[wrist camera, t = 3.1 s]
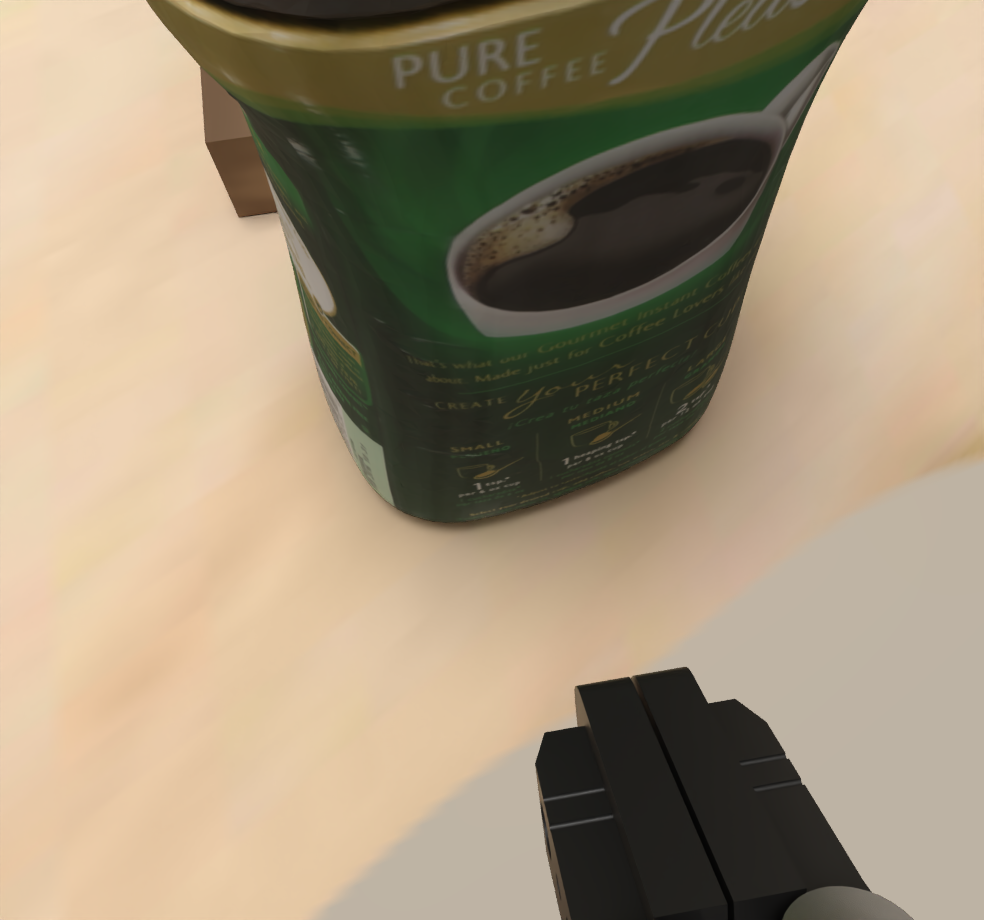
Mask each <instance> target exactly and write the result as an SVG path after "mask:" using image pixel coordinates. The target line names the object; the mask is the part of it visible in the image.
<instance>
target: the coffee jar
mask: <svg viewBox="0 0 984 920" xmlns="http://www.w3.org/2000/svg"><path fill="white" fill-rule="evenodd" d="M146 1H147V2H148V4H149V5H150V7H151V8H152V10H153V11H154V12H155V14H156V15H157V16H158V17H159V19H160V20H161V21H162V23H163V24H164V25H165V26H166V28H167V29H168V30H169V31H170V32H171V33H172V34H173V36H174V37H175V38H176V39H177V40H178V41H179V42H180V44H181V45H182V46H183V47H184V48H185V49H186V50H187V52H188V53H189V54H190V55H191V56H192V57H193V58H194V60H195V61H196V62H197V63H198V64H199V65H200V66H201V68H202V69H204V70H205V71H206V72H207V73H208V74H209V75H210V76H211V77H212V78H213V79H214V80H215V81H216V82H217V83H218V84H220V85H221V86H222V87H223V88H224V89H225V90H226V91H227V92H228V94H229V95H230V96H231V97H233V98H234V99H235V100H236V101H238V103H239V104H240V106H241V109H242V111H243V114H244V116H245V119H246V122H247V124H248V127H249V129H250V132H251V135H252V137H253V140H254V143H255V146H256V149H257V151H258V154H259V157H260V160H261V162H262V165H263V167H264V170H265V173H266V176H267V179H268V182H269V185H270V189H271V192H272V195H273V198H274V201H275V204H276V208H277V211H278V214H279V218H280V221H281V225H282V228H283V232H284V235H285V238H286V242H287V246H288V250H289V254H290V258H291V262H292V266H293V270H294V275H295V280H296V285H297V289H298V293H299V298H300V302H301V307H302V312H303V317H304V321H305V325H306V329H307V333H308V338H309V342H310V346H311V349H312V353H313V356H314V360H315V364H316V367H317V371H318V374H319V378H320V381H321V384H322V388H323V391H324V394H325V397H326V400H327V402H328V405H329V407H330V410H331V412H332V415H333V418H334V420H335V422H336V424H337V426H338V428H339V430H340V433H341V435H342V437H343V439H344V441H345V443H346V445H347V447H348V449H349V452H350V454H351V455H352V457H353V459H354V461H355V462H356V464H357V466H358V468H359V469H360V471H361V473H362V475H363V476H364V477H365V479H366V480H367V481H368V483H369V484H370V485H371V487H372V488H373V489H374V490H375V491H376V492H377V493H378V494H379V495H380V496H381V497H382V498H384V499H385V500H386V501H387V502H389V503H390V504H392V505H393V506H394V507H396V508H397V509H399V510H401V511H403V512H404V513H407V514H410V515H412V516H415V517H419V518H422V519H426V520H430V521H438V522H445V523H447V522H466V521H473V520H479V519H482V518H485V517H492V516H496V515H501V514H505V513H508V512H511V511H514V510H517V509H522V508H527V507H530V506H533V505H536V504H539V503H542V502H545V501H548V500H552V499H555V498H557V497H560V496H562V495H565V494H567V493H570V492H573V491H575V490H578V489H581V488H583V487H586V486H589V485H591V484H594V483H596V482H598V481H601V480H603V479H605V478H608V477H610V476H613V475H616V474H618V473H620V472H622V471H624V470H626V469H628V468H630V467H631V466H633V465H635V464H637V463H639V462H641V461H643V460H645V459H647V458H649V457H650V456H652V455H654V454H656V453H658V452H659V451H661V450H663V449H665V448H666V447H668V446H669V445H671V444H673V443H674V442H676V441H677V440H679V439H680V438H682V437H683V436H684V435H685V434H686V433H687V432H688V431H689V430H691V429H692V427H693V426H694V425H695V424H696V423H697V422H698V421H699V419H700V418H701V416H702V415H703V413H704V412H705V410H706V409H707V406H708V404H709V402H710V400H711V398H712V396H713V394H714V391H715V389H716V387H717V384H718V382H719V379H720V376H721V374H722V371H723V368H724V365H725V362H726V359H727V356H728V353H729V350H730V347H731V343H732V340H733V336H734V333H735V329H736V325H737V321H738V317H739V313H740V310H741V306H742V302H743V299H744V295H745V291H746V288H747V285H748V281H749V278H750V274H751V271H752V268H753V265H754V261H755V258H756V255H757V252H758V249H759V246H760V243H761V241H762V238H763V234H764V231H765V228H766V225H767V222H768V219H769V216H770V213H771V210H772V207H773V204H774V202H775V199H776V196H777V193H778V190H779V187H780V184H781V181H782V178H783V175H784V172H785V169H786V166H787V163H788V160H789V158H790V155H791V153H792V150H793V148H794V145H795V143H796V140H797V138H798V135H799V133H800V130H801V128H802V125H803V123H804V120H805V118H806V115H807V113H808V111H809V109H810V107H811V104H812V102H813V100H814V98H815V96H816V94H817V91H818V89H819V87H820V85H821V83H822V81H823V79H824V77H825V75H826V73H827V71H828V69H829V67H830V65H831V64H832V62H833V60H834V58H835V56H836V54H837V52H838V50H839V48H840V46H841V44H842V42H843V41H844V39H845V37H846V35H847V34H848V32H849V30H850V29H851V27H852V25H853V24H854V22H855V20H856V19H857V17H858V15H859V14H860V12H861V10H862V9H863V7H864V6H865V4H866V3H867V1H868V0H146Z"/></svg>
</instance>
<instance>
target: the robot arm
mask: <svg viewBox="0 0 984 920" xmlns="http://www.w3.org/2000/svg"><path fill="white" fill-rule="evenodd" d="M575 704H576V714H577V724H578V727H574V728H568V729H563V730H557V731H551V732H545V733H544V736H543V740H542V743H541V746H540V750H539V753H538V756H537V760H536V763H535V766H536V774H537V782H538V790H539V797H540V805H541V813H542V820H543V828H544V837H545V844H546V852H547V856H548V861H549V866H550V870H551V875H552V879H553V884H554V887H555V893H556V898H557V902H558V906H559V911H560V915H561V919H562V920H913V918H912V917H910V916H909V915H908V914H907V913H906V912H905V911H904V910H902V909H901V908H900V907H898V906H897V905H895V904H894V903H892V902H891V901H889V900H887V899H885V898H883V897H881V896H879V895H877V894H874V893H872V892H871V891H870V889H869V888H868V887H867V885H866V884H865V882H864V881H863V880H862V878H861V876H860V875H859V873H858V871H857V870H856V868H855V866H854V865H853V863H852V861H851V860H850V858H849V857H848V855H847V853H846V852H845V850H844V848H843V847H842V845H841V843H840V842H839V840H838V838H837V837H836V835H835V834H834V832H833V830H832V829H831V827H830V825H829V824H828V822H827V821H826V819H825V817H824V816H823V814H822V812H821V811H820V809H819V807H818V806H817V804H816V803H815V801H814V799H813V798H812V796H811V794H810V793H809V791H808V790H807V788H806V786H805V785H802V783H801V778H800V776H799V775H798V773H797V771H796V770H795V768H794V766H793V765H792V763H791V762H790V760H789V759H787V758H786V756H785V752H784V750H783V749H782V747H781V745H780V743H779V742H778V740H777V739H776V737H775V735H774V734H773V732H772V730H771V729H770V727H769V726H768V724H767V722H765V721H764V720H763V719H761V718H760V717H759V716H757V715H756V714H754V713H753V712H752V711H751V710H749V709H748V708H747V707H745V706H744V705H743V704H741V703H740V702H739V701H737V700H736V699H732V700H726V701H721V702H714V703H709V704H708V702H707V701H706V699H705V697H704V695H703V693H702V691H701V689H700V687H699V686H698V684H697V682H696V680H695V678H694V676H693V674H692V673H691V671H690V670H689V669H688V668H687V667H682V668H676V669H670V670H664V671H658V672H653V673H647V674H641V675H635V676H632V678H630V677H625V678H619V679H614V680H608V681H602V682H596V683H590V684H585V685H579V686H575Z"/></svg>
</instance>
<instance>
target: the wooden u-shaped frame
mask: <svg viewBox="0 0 984 920" xmlns="http://www.w3.org/2000/svg"><path fill="white" fill-rule="evenodd" d="M200 69H201V85H202V100H203V115H204V130H205V143H206V145H207V148H208V150H209V152H210V154H211V156H212V159H213V161H214V163H215V165H216V168H217V170H218V172H219V174H220V176H221V179H222V181H223V183H224V185H225V188H226V190H227V192H228V194H229V196H230V199H231V201H232V203H233V205H234V208H235V210H236V212H237V214H238V216H239V217H242V216H249V215H256V214H263V213H269V212H276V211H277V208H276V204H275V201H274V198H273V195H272V192H271V189H270V185H269V182H268V179H267V176H266V173H265V170H264V167H263V165H262V162H261V160H260V157H259V154H258V151H257V149H256V146H255V143H254V140H253V137H252V135H251V132H250V129H249V127H248V124H247V122H246V119H245V116H244V114H243V111H242V109H241V106H240V104H239V103H238V101H236V100H235V99H234V98H233V97H231V96H230V95H229V94H228V92H227V91H226V90H225V89H224V88H223V87H222V86H221V85H220V84H218V83H217V82H216V81H215V80H214V79H213V78H212V77H211V76H210V75H209V74H208V73H207V72H206V71H205V70H204V69H202V68H201V66H200Z"/></svg>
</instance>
